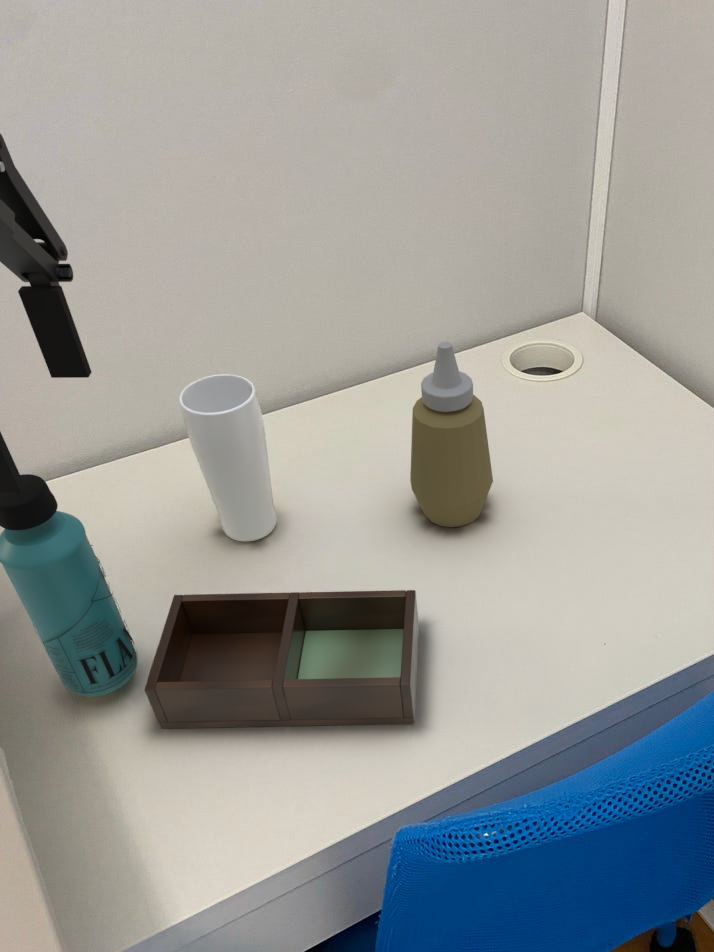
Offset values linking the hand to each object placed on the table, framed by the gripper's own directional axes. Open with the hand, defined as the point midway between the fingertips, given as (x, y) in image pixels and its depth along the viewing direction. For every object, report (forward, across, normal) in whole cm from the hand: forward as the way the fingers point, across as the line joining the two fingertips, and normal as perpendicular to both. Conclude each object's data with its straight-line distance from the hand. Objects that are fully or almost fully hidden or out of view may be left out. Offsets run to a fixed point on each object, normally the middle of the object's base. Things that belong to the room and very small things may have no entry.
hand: (39, 428), depth 63 cm
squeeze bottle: (+24, +21, -26) cm, 41 cm away
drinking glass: (+24, +18, -6) cm, 30 cm away
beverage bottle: (+24, -2, +2) cm, 24 cm away
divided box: (+23, -2, -14) cm, 27 cm away
